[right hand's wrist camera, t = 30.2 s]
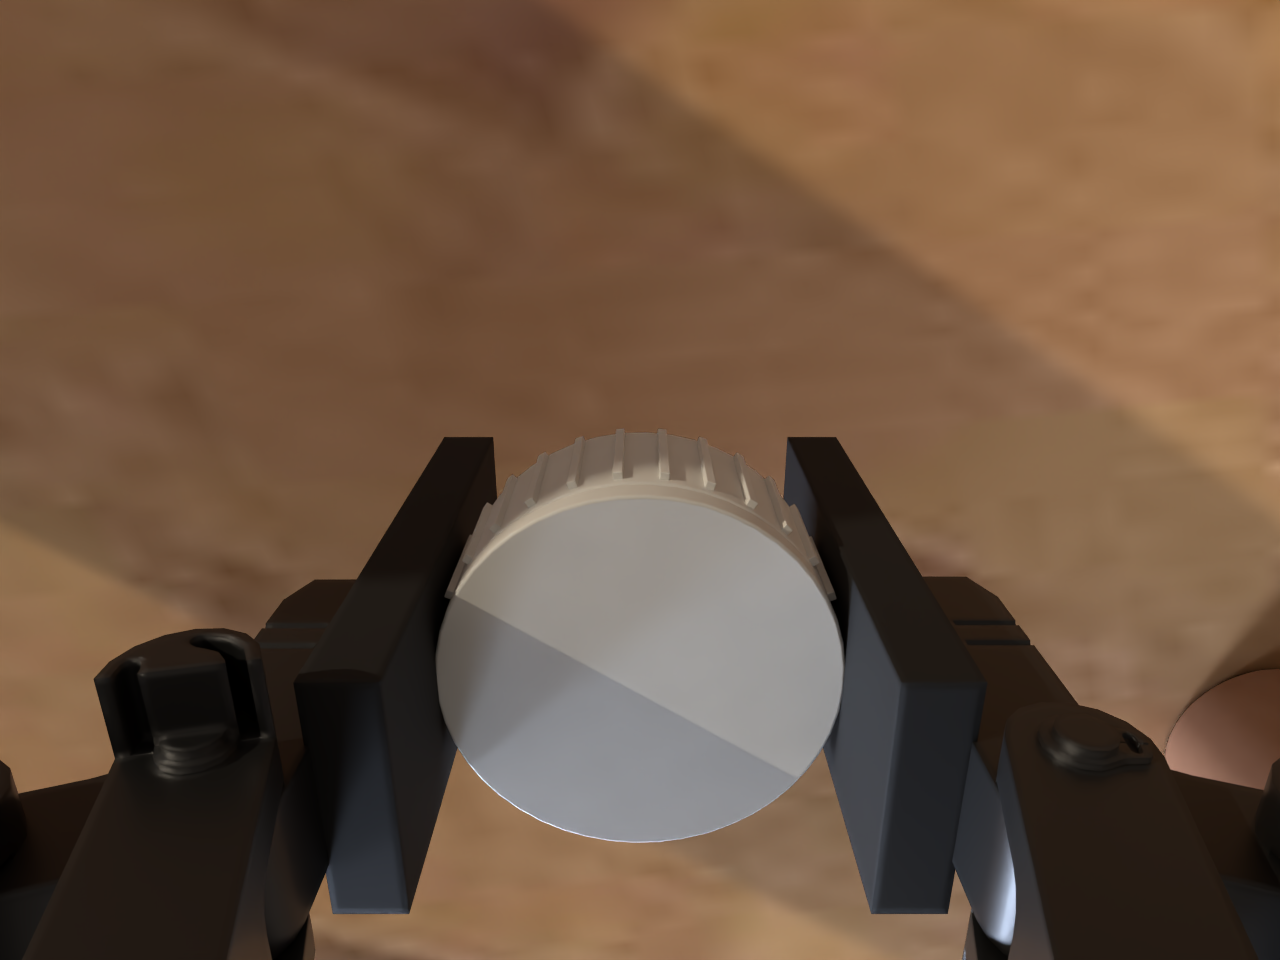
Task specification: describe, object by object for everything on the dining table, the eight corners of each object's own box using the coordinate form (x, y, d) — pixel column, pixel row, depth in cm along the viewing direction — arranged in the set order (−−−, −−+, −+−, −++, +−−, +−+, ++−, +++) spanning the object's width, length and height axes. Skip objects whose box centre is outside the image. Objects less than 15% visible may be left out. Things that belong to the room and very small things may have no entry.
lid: (387, 586, 12) (338, 676, 10) (649, 346, 11) (651, 395, 9) (632, 793, 13) (631, 908, 11) (890, 599, 12) (938, 693, 10)
